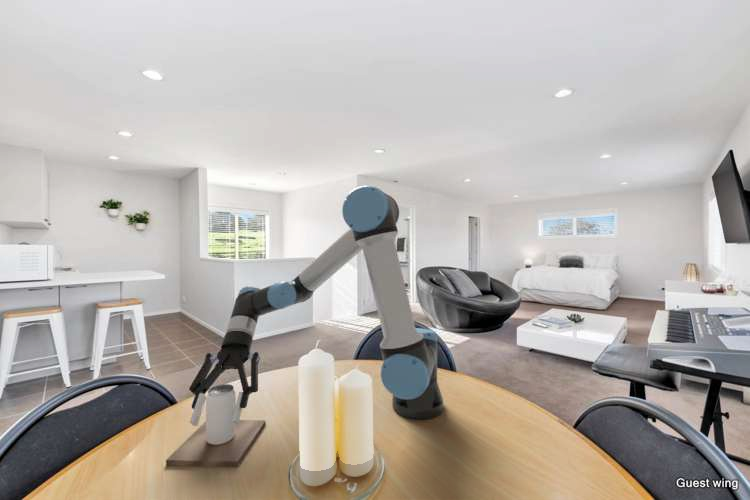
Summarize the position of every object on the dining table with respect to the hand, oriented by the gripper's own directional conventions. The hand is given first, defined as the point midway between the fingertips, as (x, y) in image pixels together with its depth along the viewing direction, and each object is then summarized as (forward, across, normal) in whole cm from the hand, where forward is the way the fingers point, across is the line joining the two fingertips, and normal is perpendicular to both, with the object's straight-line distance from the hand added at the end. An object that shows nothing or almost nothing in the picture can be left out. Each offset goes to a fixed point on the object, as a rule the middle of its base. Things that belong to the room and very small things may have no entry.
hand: (214, 423), depth 73 cm
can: (+2, 0, -6) cm, 7 cm away
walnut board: (+3, 0, -7) cm, 8 cm away
